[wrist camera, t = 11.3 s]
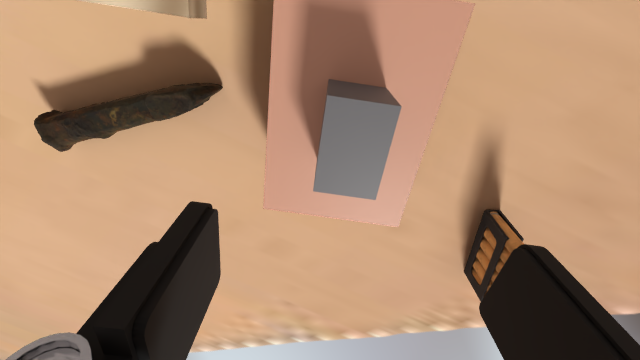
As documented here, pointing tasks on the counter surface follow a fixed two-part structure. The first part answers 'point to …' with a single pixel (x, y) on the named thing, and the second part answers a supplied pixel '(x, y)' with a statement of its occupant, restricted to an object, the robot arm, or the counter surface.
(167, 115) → the black rough elongated piece
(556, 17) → the counter surface
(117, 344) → the robot arm
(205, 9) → the rectangular bar
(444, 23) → the lid
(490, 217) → the ammunition clip
